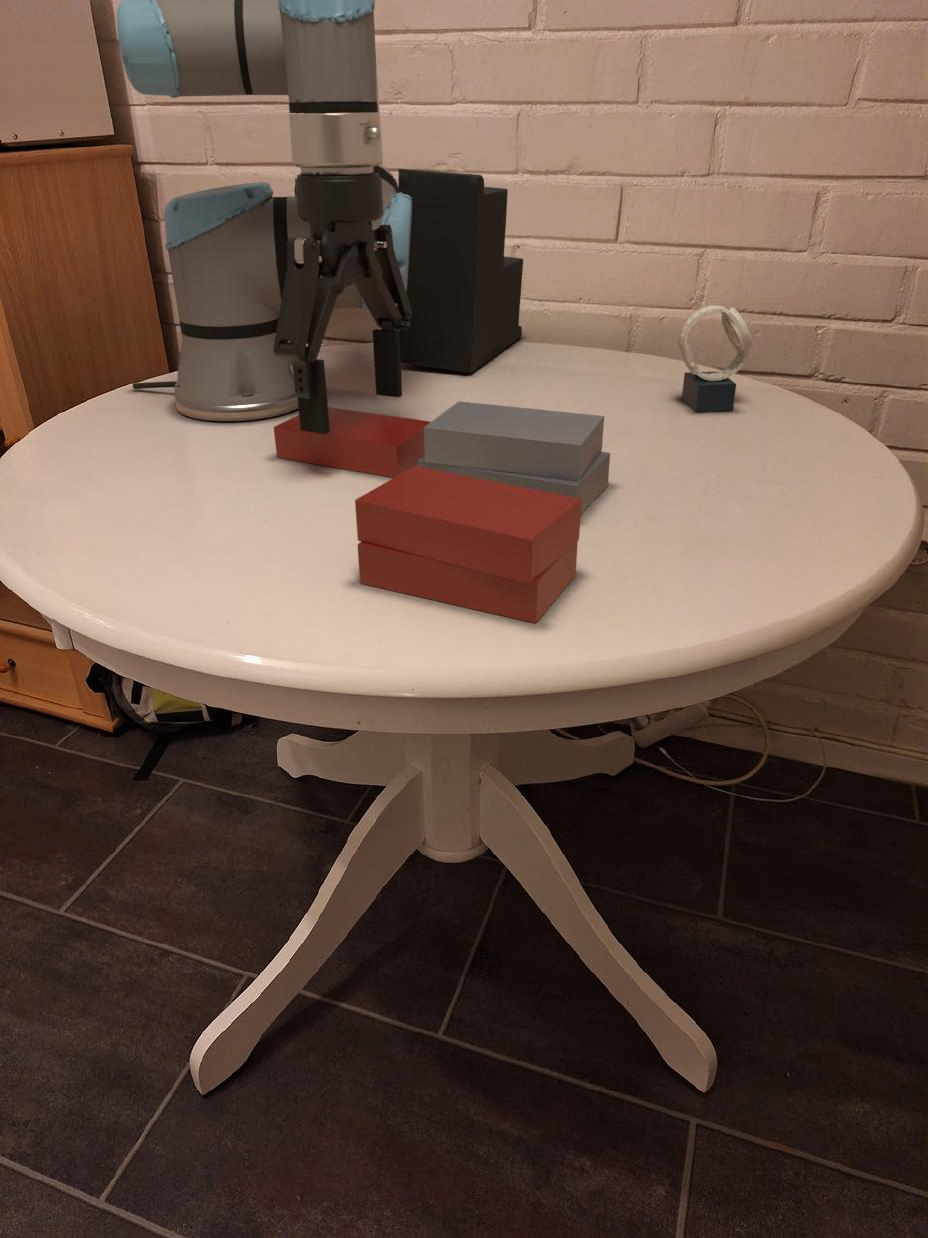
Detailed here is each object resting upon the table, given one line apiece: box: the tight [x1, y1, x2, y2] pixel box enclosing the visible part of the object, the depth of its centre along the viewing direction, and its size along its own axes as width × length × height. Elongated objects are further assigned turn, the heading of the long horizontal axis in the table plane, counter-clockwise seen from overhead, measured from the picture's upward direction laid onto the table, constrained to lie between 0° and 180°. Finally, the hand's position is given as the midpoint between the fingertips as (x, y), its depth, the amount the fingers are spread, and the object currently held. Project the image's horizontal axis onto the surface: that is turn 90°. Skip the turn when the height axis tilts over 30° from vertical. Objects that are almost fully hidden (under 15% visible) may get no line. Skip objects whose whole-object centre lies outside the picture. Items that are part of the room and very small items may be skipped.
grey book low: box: [418, 451, 611, 515], centre depth 82 cm, size 15×9×3 cm, turn 64°
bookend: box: [396, 168, 524, 374], centre depth 122 cm, size 23×11×24 cm, turn 160°
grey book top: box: [424, 400, 605, 481], centre depth 81 cm, size 14×8×3 cm, turn 69°
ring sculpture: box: [677, 304, 754, 413], centre depth 103 cm, size 6×8×11 cm
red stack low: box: [357, 540, 579, 624], centre depth 67 cm, size 14×8×3 cm, turn 64°
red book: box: [273, 406, 431, 479], centre depth 91 cm, size 14×8×3 cm, turn 64°
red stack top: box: [354, 466, 582, 583], centre depth 65 cm, size 14×8×3 cm, turn 60°
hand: (354, 412), depth 89 cm, fingers open, 13 cm apart
